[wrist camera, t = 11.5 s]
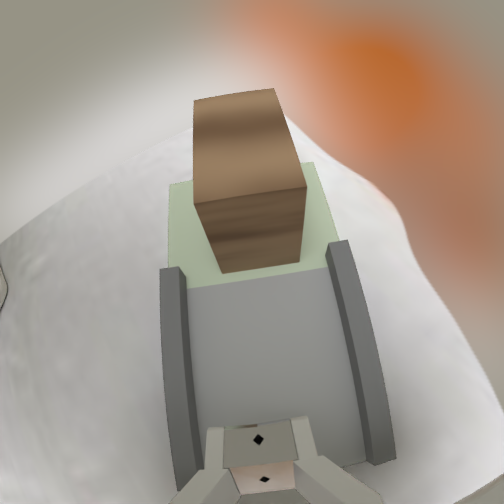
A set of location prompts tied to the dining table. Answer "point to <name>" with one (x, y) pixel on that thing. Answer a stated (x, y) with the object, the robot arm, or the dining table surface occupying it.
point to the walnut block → (247, 181)
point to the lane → (269, 342)
